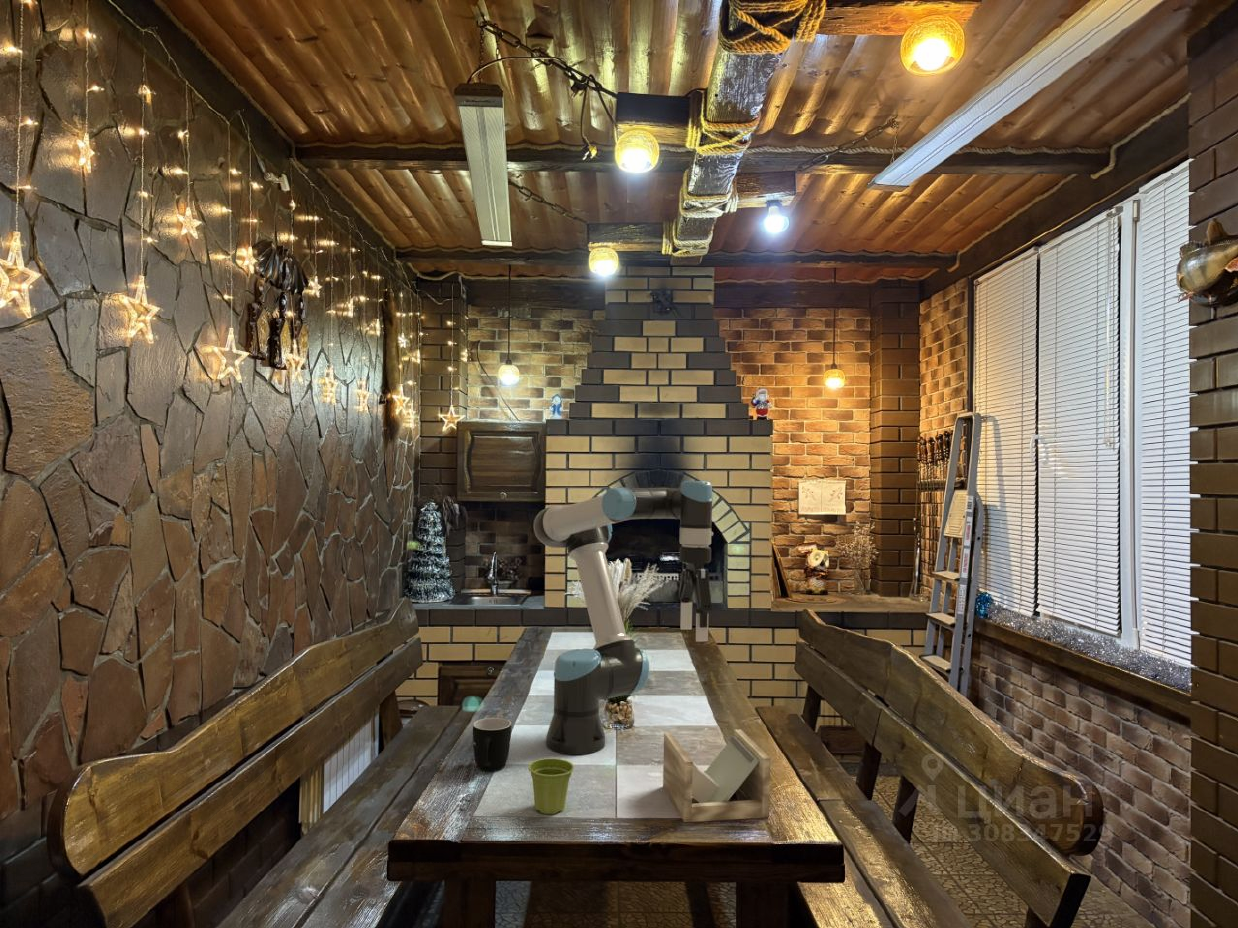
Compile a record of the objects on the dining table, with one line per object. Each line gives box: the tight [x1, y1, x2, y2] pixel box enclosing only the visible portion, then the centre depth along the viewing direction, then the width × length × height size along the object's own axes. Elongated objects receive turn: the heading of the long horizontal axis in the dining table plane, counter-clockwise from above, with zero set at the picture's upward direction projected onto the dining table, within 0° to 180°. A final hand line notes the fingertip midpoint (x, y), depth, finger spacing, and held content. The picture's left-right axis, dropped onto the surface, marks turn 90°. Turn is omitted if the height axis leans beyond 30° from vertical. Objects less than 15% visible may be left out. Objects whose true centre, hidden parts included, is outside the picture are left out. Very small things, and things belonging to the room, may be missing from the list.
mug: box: [472, 717, 512, 773], centre depth 181 cm, size 12×9×10 cm
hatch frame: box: [662, 728, 771, 823], centre depth 165 cm, size 18×18×12 cm
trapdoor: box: [704, 735, 759, 803], centre depth 166 cm, size 14×14×1 cm
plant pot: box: [528, 757, 575, 815], centre depth 160 cm, size 9×9×9 cm
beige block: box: [692, 762, 719, 803], centre depth 165 cm, size 5×5×6 cm
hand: (693, 635), depth 184 cm, fingers open, 13 cm apart
